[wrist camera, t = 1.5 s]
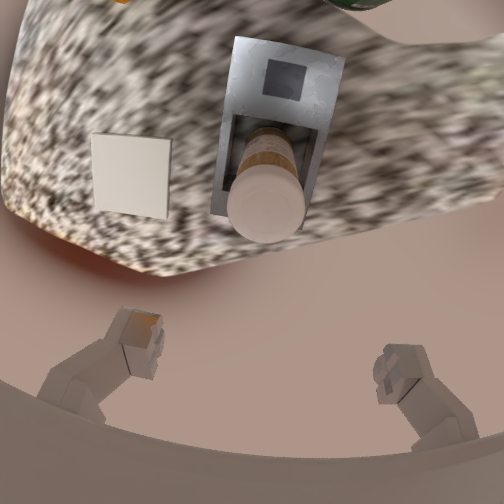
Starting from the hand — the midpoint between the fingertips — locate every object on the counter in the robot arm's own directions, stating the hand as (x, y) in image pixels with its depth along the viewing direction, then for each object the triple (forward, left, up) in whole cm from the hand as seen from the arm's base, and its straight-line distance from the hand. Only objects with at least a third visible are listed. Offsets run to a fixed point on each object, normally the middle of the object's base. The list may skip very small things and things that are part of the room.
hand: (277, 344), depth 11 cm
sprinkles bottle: (0, -1, -23) cm, 23 cm away
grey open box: (-2, -1, -22) cm, 22 cm away
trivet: (+5, -15, -22) cm, 27 cm away
